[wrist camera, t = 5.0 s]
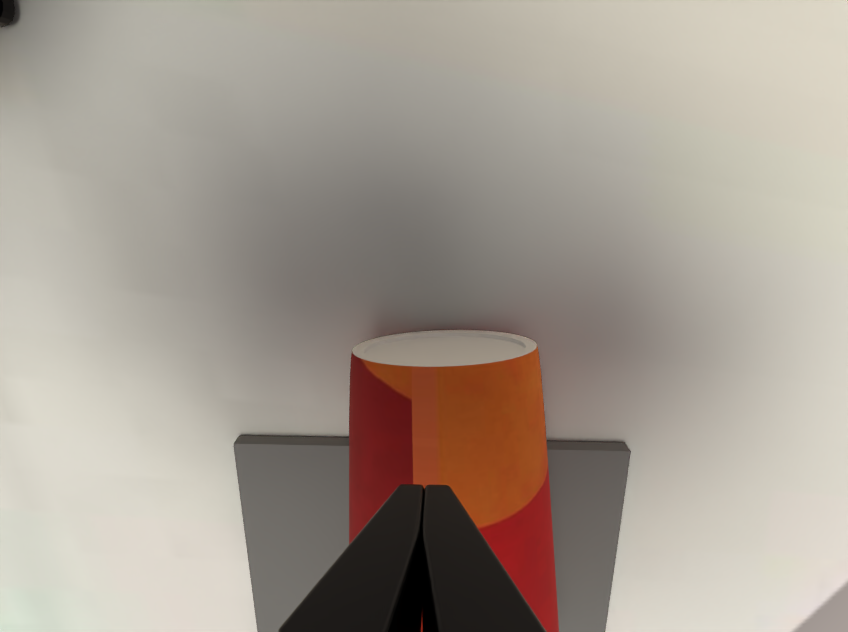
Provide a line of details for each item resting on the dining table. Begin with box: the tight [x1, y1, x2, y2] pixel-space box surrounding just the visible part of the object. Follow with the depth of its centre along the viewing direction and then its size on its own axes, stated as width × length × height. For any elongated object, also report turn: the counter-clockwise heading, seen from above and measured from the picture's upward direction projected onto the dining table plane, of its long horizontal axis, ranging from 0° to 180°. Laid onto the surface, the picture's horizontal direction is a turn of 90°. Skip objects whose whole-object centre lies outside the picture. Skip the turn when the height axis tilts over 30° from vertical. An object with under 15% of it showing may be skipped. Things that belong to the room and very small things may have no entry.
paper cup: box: [349, 330, 559, 632], centre depth 15 cm, size 8×8×14 cm
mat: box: [234, 436, 631, 632], centre depth 20 cm, size 13×15×1 cm
